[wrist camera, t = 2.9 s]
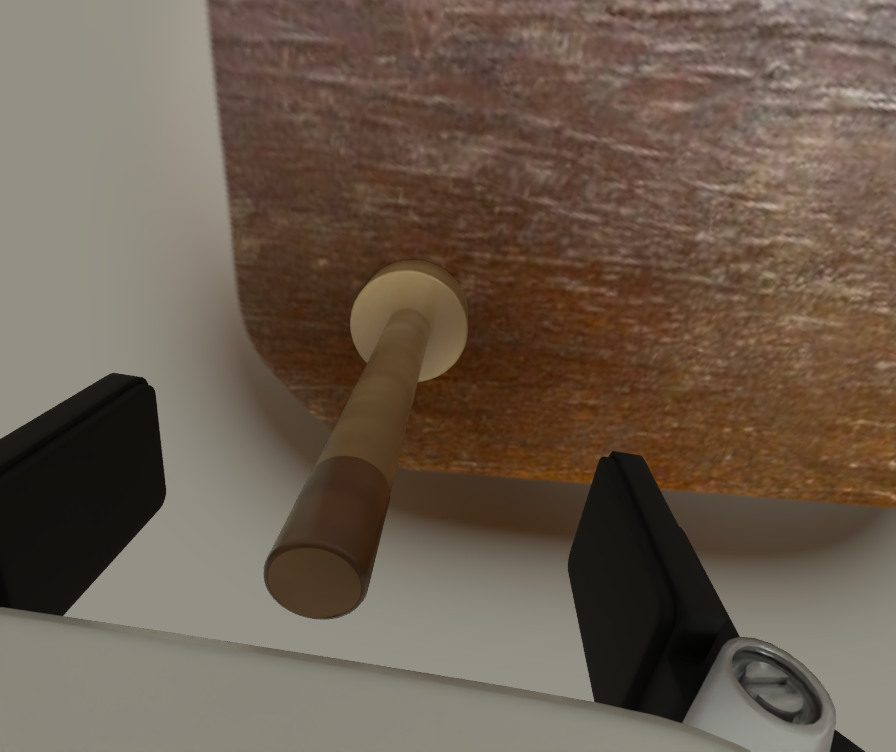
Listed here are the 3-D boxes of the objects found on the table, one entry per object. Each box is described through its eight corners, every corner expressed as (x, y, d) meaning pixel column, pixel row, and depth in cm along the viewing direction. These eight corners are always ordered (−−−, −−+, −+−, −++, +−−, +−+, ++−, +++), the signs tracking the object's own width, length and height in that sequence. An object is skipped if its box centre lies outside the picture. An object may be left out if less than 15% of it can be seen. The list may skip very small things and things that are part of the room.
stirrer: (338, 301, 20) (112, 554, 8) (423, 235, 19) (321, 407, 6) (406, 382, 22) (308, 710, 9) (489, 324, 21) (513, 612, 8)
